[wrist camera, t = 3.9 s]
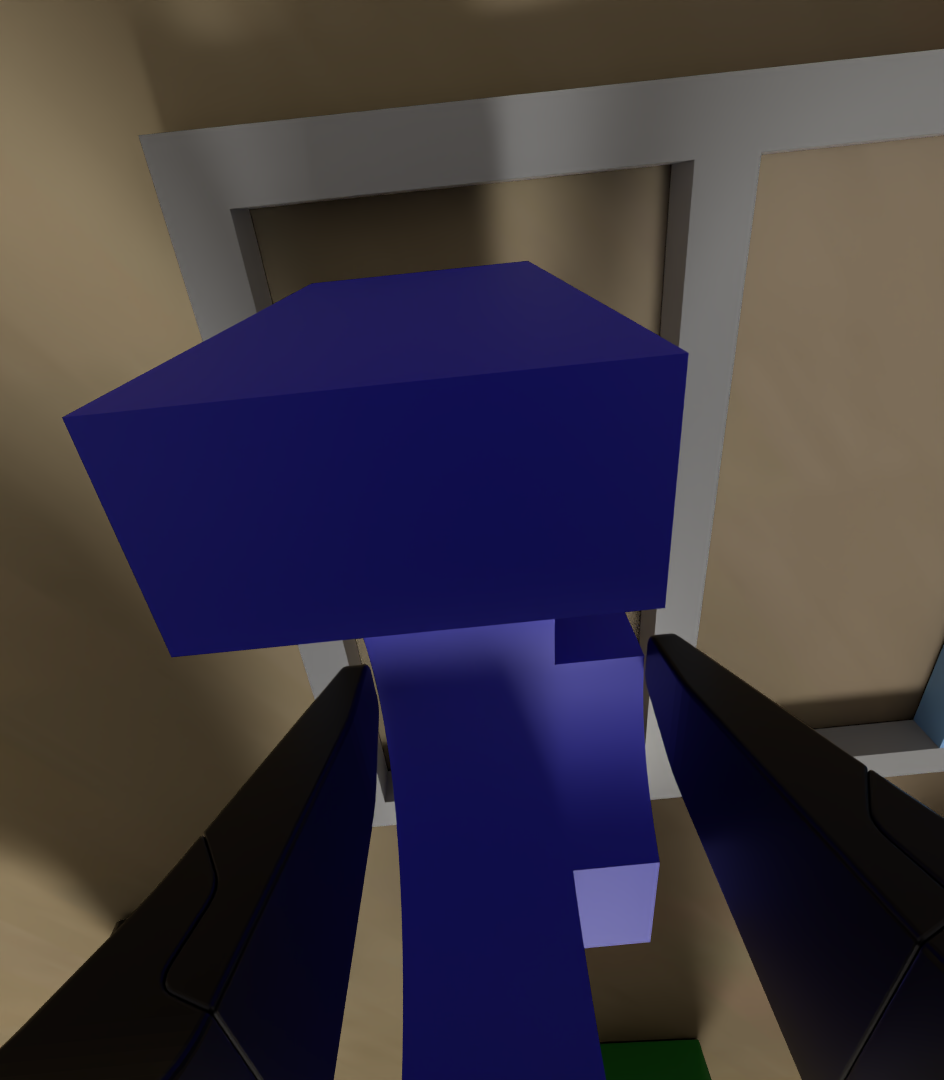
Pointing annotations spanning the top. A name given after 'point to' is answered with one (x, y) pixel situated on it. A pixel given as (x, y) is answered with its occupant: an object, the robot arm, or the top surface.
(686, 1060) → the milk carton
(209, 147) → the blue grey rack
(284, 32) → the top surface
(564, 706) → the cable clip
